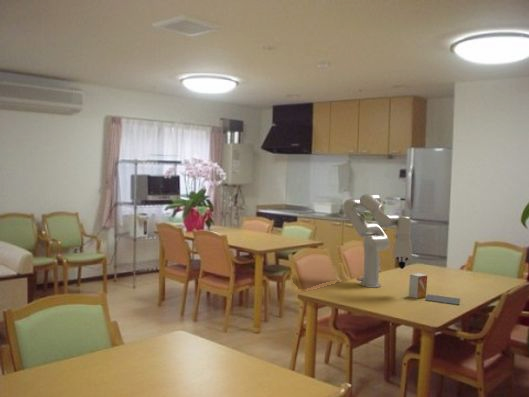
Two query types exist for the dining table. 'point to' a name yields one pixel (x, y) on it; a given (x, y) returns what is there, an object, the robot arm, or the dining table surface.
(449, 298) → the mat
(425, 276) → the small box
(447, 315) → the dining table surface
